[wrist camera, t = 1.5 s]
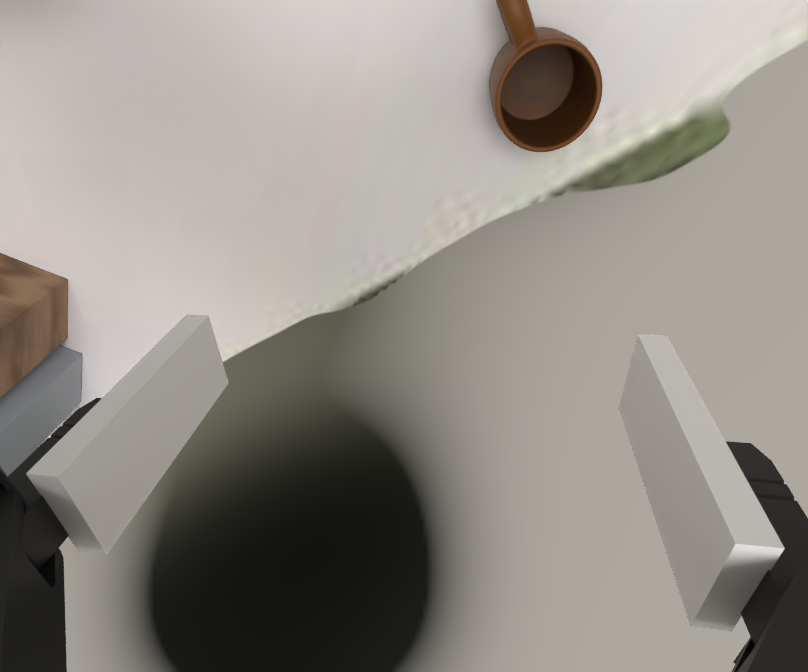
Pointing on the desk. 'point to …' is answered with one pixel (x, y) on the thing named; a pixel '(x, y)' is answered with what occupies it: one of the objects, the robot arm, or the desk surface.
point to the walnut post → (28, 318)
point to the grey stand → (38, 405)
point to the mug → (542, 83)
